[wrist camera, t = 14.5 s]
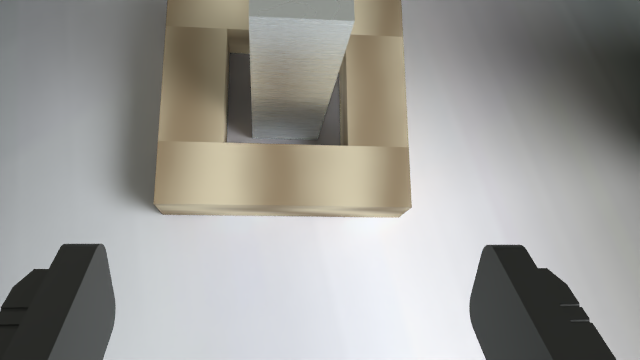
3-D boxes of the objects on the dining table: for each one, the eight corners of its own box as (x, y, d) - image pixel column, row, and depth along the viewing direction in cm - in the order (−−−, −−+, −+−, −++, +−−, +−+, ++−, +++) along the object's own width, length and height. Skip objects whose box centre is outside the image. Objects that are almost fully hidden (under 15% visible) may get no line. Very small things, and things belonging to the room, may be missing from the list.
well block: (389, 12, 38) (400, -15, 35) (398, 217, 34) (411, 207, 31) (176, 1, 36) (169, -28, 33) (162, 214, 33) (153, 203, 30)
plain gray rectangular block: (316, 80, 36) (351, -69, 22) (317, 139, 35) (354, 21, 21) (253, 78, 35) (250, -76, 22) (252, 138, 34) (248, 16, 21)
